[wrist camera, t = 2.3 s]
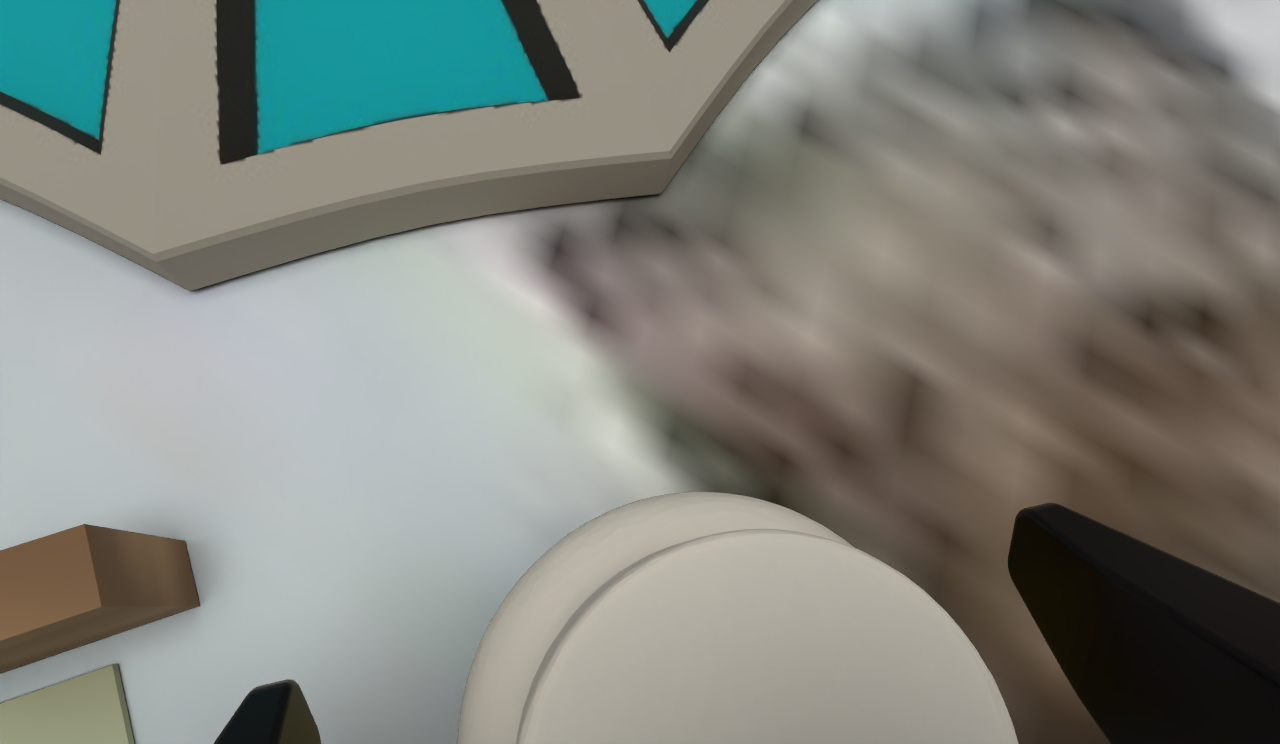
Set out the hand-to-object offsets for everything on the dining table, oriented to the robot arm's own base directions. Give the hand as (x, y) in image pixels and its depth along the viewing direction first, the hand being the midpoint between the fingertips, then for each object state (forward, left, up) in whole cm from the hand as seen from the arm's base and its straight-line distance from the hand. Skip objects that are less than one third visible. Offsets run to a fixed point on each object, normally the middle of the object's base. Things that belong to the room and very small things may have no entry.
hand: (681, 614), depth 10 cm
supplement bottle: (-1, 0, -7) cm, 7 cm away
